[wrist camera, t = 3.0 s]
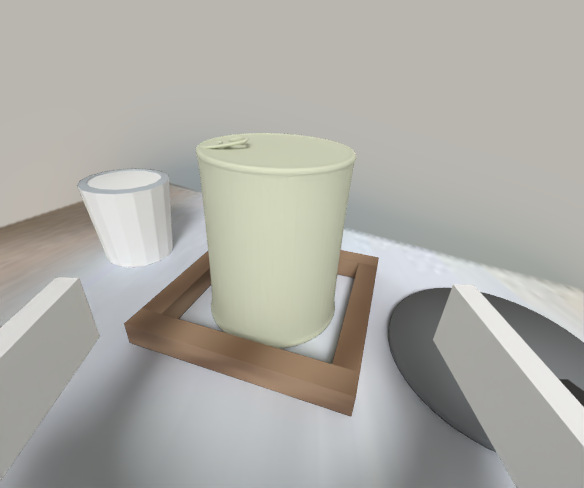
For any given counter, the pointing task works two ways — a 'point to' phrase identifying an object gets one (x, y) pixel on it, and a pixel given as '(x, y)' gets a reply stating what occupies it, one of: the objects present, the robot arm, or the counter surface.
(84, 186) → the shot glass
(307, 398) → the pocket
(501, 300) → the mat
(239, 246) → the can
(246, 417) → the counter surface
